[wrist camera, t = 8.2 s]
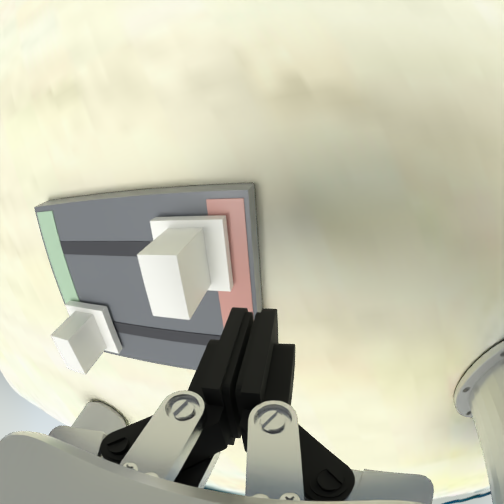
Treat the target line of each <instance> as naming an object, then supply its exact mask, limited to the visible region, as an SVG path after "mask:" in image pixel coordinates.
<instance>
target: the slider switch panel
mask: <svg viewBox="0 0 504 504" xmlns="http://www.w3.org/2000/svg"><path fill="white" fill-rule="evenodd" d="M34 208H35V212H36V216H37V220H38V224H39V228H40V231H41V235H42V239H43V242H44V245H45V249H46V252H47V255H48V259H49V262H50V265H51V268H52V271H53V274H54V277H55V279H56V282H57V285H58V288H59V290H60V293H61V296H62V298H63V301H64V303H65V304H66V303H67V302H68V301H70V300H71V301H77V302H83V303H89V304H95V305H102V306H107V308H108V311H109V314H110V317H111V320H112V322H113V325H114V328H115V330H116V333H117V335H118V338H119V340H120V343H121V345H122V348H123V349H122V350H121V352H120V353H119V354H118V353H114V352H109V351H104V352H107V353H111V354H115V355H119V356H124V357H128V358H133V359H138V360H142V361H147V362H152V363H158V364H163V365H169V366H174V367H180V368H186V369H193V370H197V367H198V365H199V363H200V360H201V358H202V356H203V353H204V351H205V349H206V346H207V344H208V342H209V340H211V339H214V340H220V337H221V334H222V332H223V329H224V327H225V324H226V322H227V319H228V316H229V314H230V311H231V309H232V307H238V308H247V309H248V312H253V320H254V318H255V314H256V312H261V310H262V309H263V307H262V292H261V276H260V261H259V246H258V231H257V216H256V201H255V187H254V183H237V184H214V185H195V186H180V187H166V188H153V189H142V190H131V191H121V192H111V193H102V194H94V195H86V196H78V197H70V198H63V199H56V200H49V201H47V202H44V203H42V204H40V205H38V206H36V207H34ZM214 215H226V221H227V231H228V240H229V250H230V259H231V268H232V277H233V288H232V290H231V292H229V291H211V290H207V292H206V293H205V295H204V297H203V298H202V300H201V302H200V303H199V305H198V307H197V309H196V310H195V312H194V314H193V315H192V317H191V319H190V320H185V319H176V318H167V317H159V316H153V314H152V310H151V307H150V303H149V300H148V296H147V292H146V289H145V285H144V281H143V277H142V273H141V269H140V265H139V261H138V257H137V254H138V253H139V252H141V251H142V250H143V249H144V248H145V247H146V246H147V245H149V244H150V243H151V242H152V241H153V236H152V231H151V225H150V221H151V220H152V219H153V218H155V217H173V216H214Z"/></svg>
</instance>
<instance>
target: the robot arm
mask: <svg viewBox="0 0 504 504" xmlns="http://www.w3.org/2000/svg"><path fill="white" fill-rule="evenodd" d="M294 367H295V344H278V320H277V309H262V310H261V312H256V314H255V318H254V320H253V312H248V309H247V308H238V307H232V309H231V311H230V314H229V316H228V319H227V322H226V324H225V327H224V329H223V332H222V334H221V337H220V340H214V339H211V340H209V342H208V344H207V346H206V349H205V351H204V353H203V356H202V358H201V360H200V363H199V365H198V367H197V370H196V372H195V375H194V377H193V379H192V382H191V384H190V386H189V389H188V391H186V390H185V391H178V392H174V393H172V394H170V395H169V396H167V397H166V398H165V399H164V400H163V402H162V403H161V405H160V406H159V408H158V409H157V411H156V412H155V413H154V415H153V416H150V417H148V418H146V419H143V420H141V421H138V422H136V423H134V424H131V425H129V426H126V427H124V428H121V429H118V430H116V431H113V432H111V433H110V434H105V433H104V431H96V430H88V429H82V428H75V427H70V426H58V427H56V428H54V429H53V430H52V431H51V432H50V434H49V436H48V435H45V434H41V433H37V432H28V431H27V432H26V431H18V432H12V433H10V434H8V435H6V436H5V437H4V438H3V439H2V440H1V441H0V504H432V499H433V493H434V489H433V484H432V482H431V480H430V479H428V478H427V477H426V476H423V475H419V474H404V473H392V472H383V471H374V470H367V469H364V471H358V470H352V469H350V468H349V467H348V466H347V465H346V464H345V463H343V462H342V461H341V460H340V459H339V458H337V457H336V456H335V455H334V454H332V453H331V452H330V451H329V450H328V449H326V448H325V447H324V446H323V445H322V444H321V443H319V442H318V441H317V440H316V439H315V438H314V437H312V436H311V435H310V434H309V433H308V432H307V431H306V430H304V429H303V428H302V427H301V426H300V425H299V424H298V418H297V414H296V411H295V410H294V409H293V407H292V406H291V399H292V390H293V380H294ZM454 403H455V407H456V409H457V412H459V413H460V414H461V415H463V416H465V417H473V419H474V423H475V426H476V429H477V433H478V437H479V440H480V444H481V448H482V452H483V456H484V460H485V465H486V469H487V474H488V479H489V484H490V490H491V495H492V502H493V504H504V341H502V342H501V343H499V344H497V345H496V346H494V347H493V348H491V349H490V350H489V351H488V352H486V353H485V354H484V355H483V356H481V357H480V358H479V359H478V360H477V361H476V362H475V363H474V364H473V365H472V366H471V367H470V368H469V369H468V371H467V372H466V373H465V375H464V376H463V377H462V379H461V380H460V382H459V384H458V386H457V388H456V391H455V394H454ZM241 434H242V439H243V444H244V448H245V451H246V452H247V467H246V492H245V496H242V495H235V494H229V493H223V492H217V491H212V490H207V489H203V488H204V486H205V484H206V482H207V480H208V478H209V476H210V474H211V472H212V470H213V468H214V466H215V464H216V462H217V460H218V458H219V455H220V451H222V450H224V449H226V448H227V445H228V444H229V445H234V441H235V438H240V437H241Z"/></svg>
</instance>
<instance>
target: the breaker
mask: <svg viewBox="0 0 504 504" xmlns="http://www.w3.org/2000/svg"><path fill="white" fill-rule="evenodd" d="M65 306H66V308H67V311H68V313H69V316H70V317H69V318H67V319H66V320H65V321H64V322H63V323H62V324H61V325H60V326H59V327H58V328H57V329H56V330H55V331H54V332H53V333H52V334H51V337H52V339H53V341H54V343H55V345H56V347H57V349H58V351H59V353H60V355H61V357H62V359H63V360H64V362H65V364H66V366H67V368H68V369H71V370H73V371H76V372H79V373H82V374H85V375H86V374H87V372H88V371H89V370H90V368H91V367H92V366H93V365H94V363H95V362H96V361H97V359H98V358H99V357H100V356H101V354H102V353H103V352H104V351H109V352H114V353H118V354H119V353H120V352H121V350H122V349H123V348H122V345H121V343H120V340H119V338H118V335H117V333H116V330H115V328H114V325H113V322H112V320H111V317H110V314H109V311H108V308H107V306H102V305H95V304H89V303H83V302H77V301H71V300H70V301H68V302H67V303H66V304H65Z"/></svg>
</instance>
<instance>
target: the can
mask: <svg viewBox="0 0 504 504" xmlns="http://www.w3.org/2000/svg"><path fill="white" fill-rule="evenodd" d="M72 427H75V428H82V429H88V430H96V431H104V433H105V434H110V433H111V432H113V431H116V430H118V429H121V428H124V427H126V424H125V420H124V418H123V417H122V416H121V415H120V414H119V413H118V412H117V411H116V410H114V409H113V408H112V407H110V406H108V405H106V404H104V403H102V402H98V401H97V402H88V403H87V405H86V406H85V408H84V409H83V410H82V412H81V413H80V415H79V416H78V418H77V419H76V421H75V422H74V424H73V425H72Z"/></svg>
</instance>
